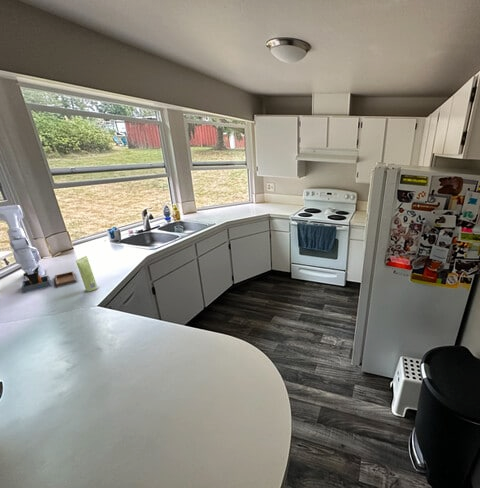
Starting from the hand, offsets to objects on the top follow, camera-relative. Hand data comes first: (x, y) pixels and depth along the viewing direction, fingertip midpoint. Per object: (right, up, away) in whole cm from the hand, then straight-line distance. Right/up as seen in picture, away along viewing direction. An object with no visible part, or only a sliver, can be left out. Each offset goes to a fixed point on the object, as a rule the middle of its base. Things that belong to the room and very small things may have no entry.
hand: (35, 281), depth 143 cm
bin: (0, -3, +1) cm, 3 cm away
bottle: (0, -3, +1) cm, 3 cm away
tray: (+8, -1, +9) cm, 12 cm away
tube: (+33, -5, 0) cm, 33 cm away
